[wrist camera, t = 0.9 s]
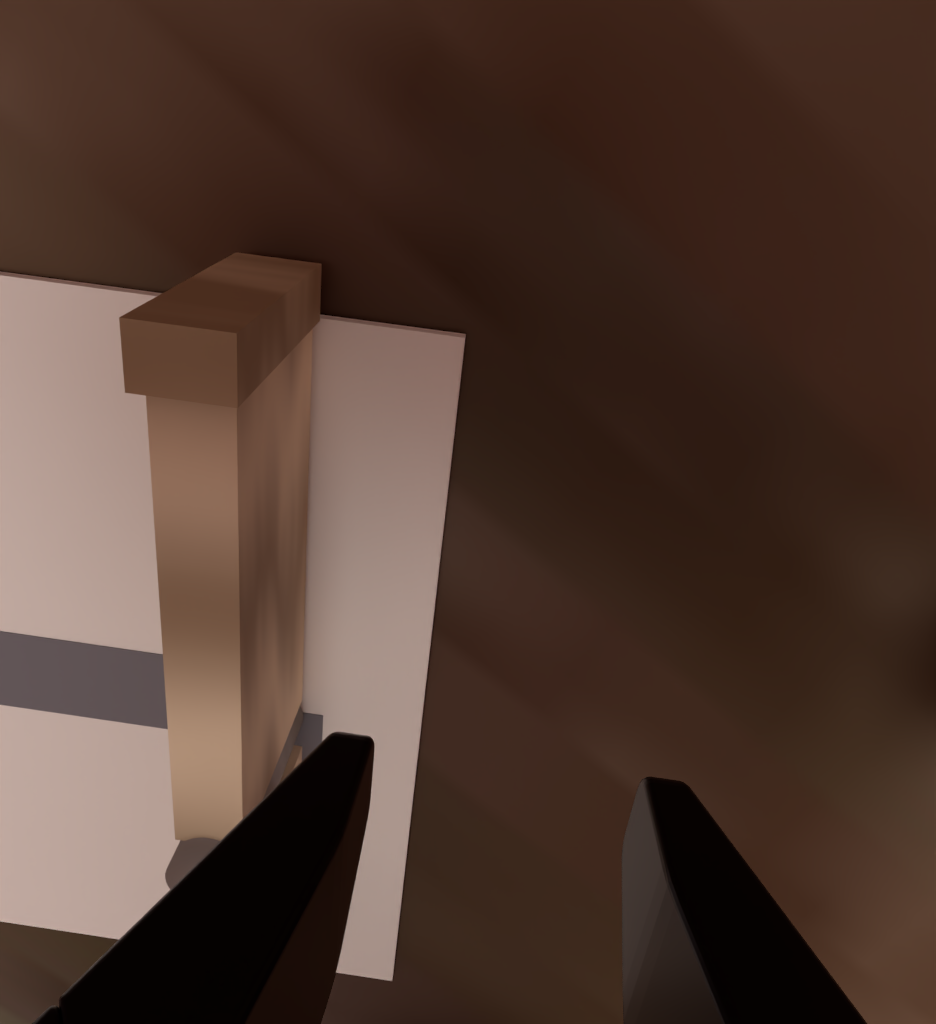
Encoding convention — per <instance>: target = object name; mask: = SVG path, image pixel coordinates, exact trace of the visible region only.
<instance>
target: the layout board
mask: <svg viewBox="0 0 936 1024" xmlns="http://www.w3.org/2000/svg"><path fill="white" fill-rule="evenodd" d="M160 294H162V293H157V292H150V291H142V290H135V289H128V288H120V287H113V286H105V285H98V284H90V283H83V282H75V281H68V280H61V279H53V278H46V277H38V276H31V275H23V274H16V273H9V272H1V271H0V921H2V922H8V923H15V924H21V925H28V926H34V927H41V928H48V929H54V930H61V931H67V932H74V933H80V934H87V935H93V936H100V937H107V938H113V939H120V938H121V937H122V936H123V935H124V934H125V933H126V932H127V931H128V930H129V929H130V928H131V927H132V926H133V925H134V924H136V923H137V922H138V921H139V920H140V919H141V918H142V917H143V916H144V915H145V914H146V913H147V912H148V911H149V910H150V909H151V908H152V907H153V906H154V905H155V904H156V903H157V902H158V901H159V900H160V899H161V898H162V897H163V896H164V895H165V894H166V893H167V892H168V891H169V890H170V888H169V887H168V885H167V883H166V879H165V872H166V869H167V867H168V865H169V863H170V861H171V859H172V857H173V855H174V853H175V850H176V848H177V846H178V844H179V842H180V840H175V830H174V815H173V800H172V785H171V770H170V755H169V740H168V725H167V709H166V694H165V679H164V664H163V649H162V634H161V619H160V604H159V589H158V574H157V559H156V544H155V529H154V514H153V498H152V483H151V468H150V453H149V438H148V423H147V408H146V396H145V395H138V394H130V393H125V387H124V374H123V362H122V349H121V336H120V323H119V317H121V316H123V315H124V314H126V313H128V312H130V311H132V310H133V309H135V308H137V307H139V306H140V305H142V304H144V303H146V302H148V301H149V300H151V299H153V298H155V297H157V296H158V295H160ZM465 338H466V334H462V333H455V332H447V331H440V330H433V329H425V328H418V327H410V326H403V325H395V324H388V323H380V322H373V321H366V320H358V319H351V318H343V317H336V316H328V315H321V314H320V321H319V322H318V323H317V324H316V326H315V327H314V328H313V335H312V371H311V406H310V441H309V476H308V511H307V547H306V582H305V617H304V652H303V687H302V702H301V704H300V707H301V708H302V711H303V722H302V725H301V728H300V730H299V733H298V736H297V738H296V741H295V744H294V745H297V746H302V761H303V760H304V759H305V758H306V757H307V756H308V755H309V754H310V753H311V752H312V751H313V750H314V749H315V748H316V747H317V746H318V745H319V744H320V743H321V742H322V741H323V740H324V739H325V738H326V737H327V736H328V735H330V734H331V733H333V732H346V733H353V734H360V735H367V736H370V737H371V738H372V739H373V741H374V745H375V749H374V762H373V775H372V787H371V799H370V808H369V814H368V820H367V825H366V830H365V835H364V840H363V845H362V850H361V855H360V860H359V865H358V870H357V875H356V880H355V885H354V889H353V894H352V899H351V904H350V909H349V914H348V919H347V924H346V929H345V934H344V939H343V944H342V949H341V953H340V957H339V962H338V966H337V970H336V973H343V974H349V975H356V976H362V977H369V978H375V979H382V980H389V981H392V978H393V973H394V964H395V955H396V946H397V937H398V928H399V920H400V911H401V902H402V893H403V884H404V876H405V867H406V858H407V849H408V840H409V832H410V823H411V814H412V805H413V796H414V787H415V779H416V770H417V761H418V752H419V743H420V735H421V726H422V717H423V708H424V699H425V691H426V682H427V673H428V664H429V655H430V646H431V638H432V629H433V620H434V611H435V602H436V594H437V585H438V576H439V567H440V558H441V549H442V541H443V532H444V523H445V514H446V505H447V497H448V488H449V479H450V470H451V461H452V453H453V444H454V435H455V426H456V417H457V408H458V400H459V391H460V382H461V373H462V364H463V356H464V347H465Z"/></svg>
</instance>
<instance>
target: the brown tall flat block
mask: <svg viewBox="0 0 936 1024" xmlns="http://www.w3.org/2000/svg"><path fill="white" fill-rule="evenodd" d="M321 271H322V264H320V263H313V262H305V261H298V260H290V259H283V258H275V257H267V256H260V255H252V254H245V253H237V252H236V253H234V254H232V255H230V256H228V257H227V258H225V259H223V260H221V261H219V262H218V263H216V264H214V265H212V266H211V267H209V268H207V269H205V270H203V271H202V272H200V273H198V274H196V275H194V276H193V277H191V278H189V279H187V280H185V281H184V282H182V283H180V284H178V285H176V286H175V287H173V288H171V289H169V290H167V291H166V292H164V293H162V294H160V295H158V296H157V297H155V298H153V299H151V300H149V301H148V302H146V303H144V304H142V305H140V306H139V307H137V308H135V309H133V310H132V311H130V312H128V313H126V314H124V315H123V316H121V317H119V323H120V336H121V349H122V362H123V374H124V387H125V393H130V394H138V395H145V396H146V408H147V423H148V438H149V453H150V468H151V483H152V498H153V514H154V529H155V544H156V559H157V574H158V589H159V604H160V619H161V634H162V649H163V664H164V679H165V694H166V709H167V725H168V740H169V755H170V770H171V785H172V800H173V815H174V830H175V840H180V842H179V844H178V846H177V848H176V850H175V853H174V855H173V857H172V859H171V861H170V863H169V865H168V867H167V869H166V872H165V879H166V883H167V885H168V887H169V888H170V889H171V888H172V887H173V886H174V885H176V884H177V883H178V882H179V881H180V880H181V879H182V878H183V877H184V876H185V875H186V874H187V873H188V872H189V871H190V870H191V869H192V868H193V867H194V866H195V865H196V864H197V863H198V862H199V861H200V860H201V859H202V858H203V857H204V856H205V855H206V854H207V853H208V852H209V851H210V850H211V849H212V848H213V847H214V846H215V845H217V844H218V843H219V842H220V841H221V840H222V839H223V838H224V837H225V836H226V835H227V834H228V833H229V832H230V831H231V830H232V829H233V828H234V827H235V826H236V825H237V824H238V823H239V822H240V821H241V820H242V819H243V818H244V817H245V816H246V815H247V814H248V813H249V812H250V811H251V810H252V809H253V808H254V807H255V806H257V805H258V804H259V803H260V802H261V801H262V800H263V799H264V798H265V797H266V796H267V795H268V794H269V793H270V792H271V791H272V790H273V789H274V788H275V787H276V786H277V785H278V784H279V783H280V780H281V778H282V775H283V772H284V770H285V767H286V765H287V762H288V759H289V757H290V754H291V751H292V749H293V746H294V744H295V741H296V738H297V736H298V733H299V730H300V728H301V725H302V722H303V711H302V708H301V707H300V704H301V702H302V687H303V652H304V617H305V582H306V547H307V511H308V476H309V441H310V406H311V371H312V335H313V328H314V327H315V326H316V324H317V323H318V322H319V321H320V302H321Z"/></svg>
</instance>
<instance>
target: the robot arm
mask: <svg viewBox="0 0 936 1024" xmlns="http://www.w3.org/2000/svg"><path fill="white" fill-rule="evenodd" d="M374 749H375V745H374V741H373V739H372V738H371V737H370V736H367V735H360V734H353V733H346V732H333V733H331V734H330V735H328V736H327V737H326V738H325V739H324V740H323V741H322V742H321V743H320V744H319V745H318V746H317V747H316V748H315V749H314V750H313V751H312V752H311V753H310V754H309V755H308V756H307V757H306V758H305V759H304V760H303V761H302V762H301V763H300V764H299V765H298V766H297V767H295V768H294V769H293V770H292V771H291V772H290V773H289V774H288V775H287V776H286V777H285V778H284V779H283V780H282V781H281V782H280V783H279V784H278V785H277V786H276V787H275V788H274V789H273V790H272V791H271V792H270V793H269V794H268V795H267V796H266V797H265V798H264V799H263V800H262V801H261V802H260V803H259V804H258V805H257V806H255V807H254V808H253V809H252V810H251V811H250V812H249V813H248V814H247V815H246V816H245V817H244V818H243V819H242V820H241V821H240V822H239V823H238V824H237V825H236V826H235V827H234V828H233V829H232V830H231V831H230V832H229V833H228V834H227V835H226V836H225V837H224V838H223V839H222V840H221V841H220V842H219V843H218V844H217V845H215V846H214V847H213V848H212V849H211V850H210V851H209V852H208V853H207V854H206V855H205V856H204V857H203V858H202V859H201V860H200V861H199V862H198V863H197V864H196V865H195V866H194V867H193V868H192V869H191V870H190V871H189V872H188V873H187V874H186V875H185V876H184V877H183V878H182V879H181V880H180V881H179V882H178V883H177V884H176V885H174V886H173V887H172V888H171V889H170V890H169V891H168V892H167V893H166V894H165V895H164V896H163V897H162V898H161V899H160V900H159V901H158V902H157V903H156V904H155V905H154V906H153V907H152V908H151V909H150V910H149V911H148V912H147V913H146V914H145V915H144V916H143V917H142V918H141V919H140V920H139V921H138V922H137V923H136V924H134V925H133V926H132V927H131V928H130V929H129V930H128V931H127V932H126V933H125V934H124V935H123V936H122V937H121V938H120V939H119V940H118V941H117V942H116V943H115V944H114V945H113V946H112V947H111V948H110V949H109V950H108V951H107V952H106V953H105V954H104V955H103V956H102V957H101V958H100V959H99V960H98V961H97V962H96V963H94V964H93V965H92V966H91V967H90V968H89V969H88V970H87V971H86V972H85V973H84V974H83V975H82V976H81V977H80V978H79V979H78V980H77V981H76V982H75V983H74V984H73V985H72V986H71V987H70V988H69V989H68V990H67V991H66V992H65V993H64V994H63V995H62V996H61V997H60V999H59V1007H57V1006H55V1005H53V1006H50V1007H49V1008H48V1009H47V1010H46V1011H45V1012H44V1013H42V1014H41V1015H40V1016H39V1017H38V1018H37V1019H36V1020H35V1021H34V1022H33V1023H32V1024H321V1021H322V1018H323V1015H324V1012H325V1009H326V1005H327V1002H328V999H329V995H330V992H331V989H332V985H333V982H334V978H335V975H336V970H337V966H338V962H339V957H340V953H341V949H342V944H343V939H344V934H345V929H346V924H347V919H348V914H349V909H350V904H351V899H352V894H353V889H354V885H355V880H356V875H357V870H358V865H359V860H360V855H361V850H362V845H363V840H364V835H365V830H366V825H367V820H368V814H369V808H370V799H371V787H372V775H373V762H374ZM622 954H623V1017H624V1024H867V1023H866V1021H865V1020H864V1019H863V1017H862V1016H861V1015H860V1013H859V1012H858V1011H857V1009H856V1008H855V1007H854V1005H853V1004H852V1003H851V1001H850V1000H849V999H848V997H847V996H846V995H845V993H844V992H843V991H842V989H841V988H840V987H839V985H838V984H837V983H836V981H835V980H834V979H833V977H832V976H831V975H830V973H829V972H828V971H827V969H826V968H825V967H824V965H823V964H822V963H821V961H820V960H819V959H818V957H817V956H816V955H815V953H814V952H813V951H812V949H811V948H810V947H809V945H808V944H807V943H806V941H805V940H804V939H803V937H802V936H801V935H800V933H799V932H798V931H797V929H796V928H795V927H794V925H793V924H792V923H791V921H790V920H789V919H788V917H787V916H786V915H785V913H784V912H783V911H782V909H781V908H780V907H779V905H778V904H777V903H776V901H775V900H774V899H773V897H772V896H771V895H770V893H769V892H768V891H767V889H766V888H765V887H764V885H763V884H762V883H761V881H760V880H759V879H758V877H757V876H756V875H755V873H754V872H753V871H752V869H751V868H750V867H749V866H748V864H747V863H746V862H745V860H744V859H743V858H742V856H741V855H740V854H739V852H738V851H737V850H736V848H735V847H734V846H733V844H732V843H731V842H730V840H729V839H728V838H727V836H726V835H725V834H724V832H723V831H722V830H721V828H720V827H719V826H718V824H717V823H716V822H715V820H714V819H713V818H712V816H711V815H710V814H709V812H708V811H707V810H706V808H705V807H704V806H703V804H702V803H701V802H700V800H699V799H698V798H697V796H696V795H695V794H694V792H693V791H692V790H691V788H690V787H689V786H688V785H686V784H685V783H684V782H681V781H676V780H670V779H663V778H656V777H646V778H644V779H642V781H641V782H640V784H639V786H638V789H637V793H636V796H635V800H634V804H633V807H632V811H631V814H630V818H629V822H628V825H627V829H626V832H625V836H624V842H623V850H622ZM59 1009H60V1010H59Z"/></svg>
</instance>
